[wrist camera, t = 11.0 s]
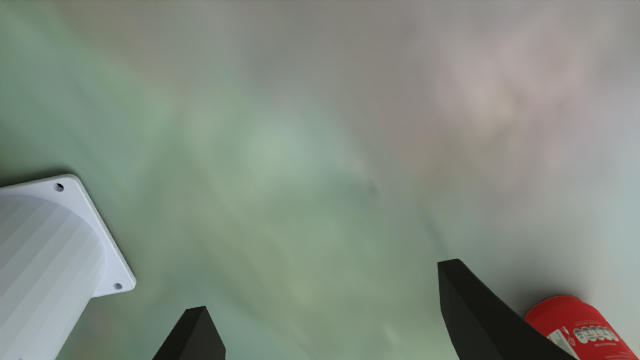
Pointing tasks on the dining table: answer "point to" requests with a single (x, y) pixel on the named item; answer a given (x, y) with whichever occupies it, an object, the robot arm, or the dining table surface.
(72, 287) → the robot arm
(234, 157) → the dining table surface
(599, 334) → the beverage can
